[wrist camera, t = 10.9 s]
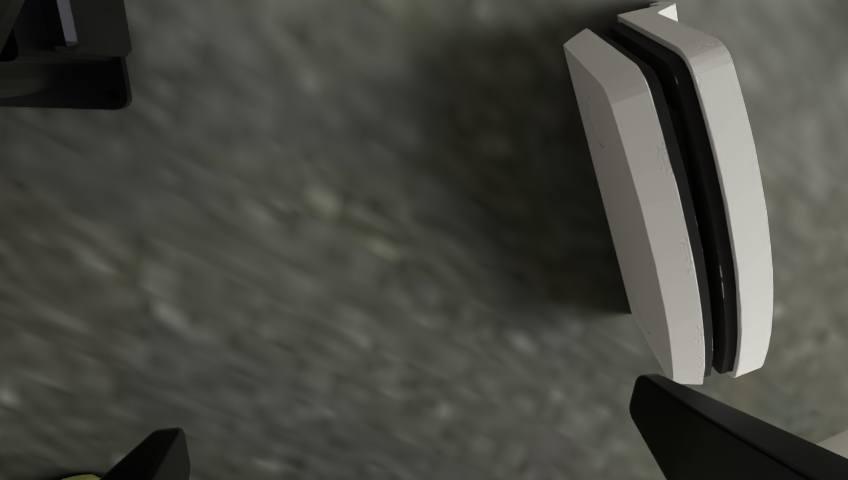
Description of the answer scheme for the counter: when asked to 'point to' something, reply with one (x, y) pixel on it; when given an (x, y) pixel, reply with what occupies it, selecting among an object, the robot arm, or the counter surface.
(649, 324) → the white layered curved block
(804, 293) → the counter surface
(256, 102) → the counter surface
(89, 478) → the plant pot
